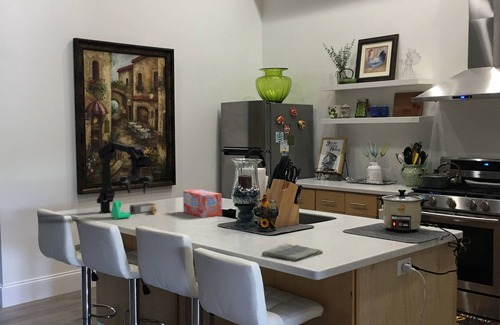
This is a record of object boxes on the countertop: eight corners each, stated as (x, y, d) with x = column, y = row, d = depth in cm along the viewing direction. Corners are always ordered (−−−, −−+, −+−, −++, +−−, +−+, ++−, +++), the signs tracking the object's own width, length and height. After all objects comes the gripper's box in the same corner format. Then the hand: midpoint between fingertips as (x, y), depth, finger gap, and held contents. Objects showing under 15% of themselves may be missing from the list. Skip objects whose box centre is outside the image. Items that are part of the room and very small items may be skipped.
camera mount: (131, 218, 327) (131, 200, 326) (119, 220, 323) (118, 202, 322) (123, 215, 337) (122, 198, 336) (110, 217, 332) (110, 200, 332)
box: (222, 216, 328) (222, 192, 327) (203, 218, 322) (202, 194, 321) (201, 210, 351) (200, 188, 350) (182, 212, 344) (182, 190, 343)
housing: (128, 213, 346) (128, 204, 346) (149, 210, 354) (149, 202, 354) (133, 214, 340) (132, 205, 340) (154, 211, 348) (154, 203, 348)
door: (152, 214, 338) (152, 206, 337) (154, 211, 348) (154, 204, 348) (156, 214, 338) (155, 206, 338) (157, 211, 348) (157, 203, 348)
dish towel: (296, 263, 215) (296, 255, 215) (260, 257, 227) (260, 249, 227) (324, 254, 229) (324, 246, 229) (289, 248, 241) (289, 241, 241)
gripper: (115, 168, 328) (116, 195, 329) (146, 168, 324) (147, 195, 325) (123, 167, 339) (123, 193, 340) (152, 166, 335) (153, 193, 336)
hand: (136, 193), depth 335 cm, fingers open, 9 cm apart
